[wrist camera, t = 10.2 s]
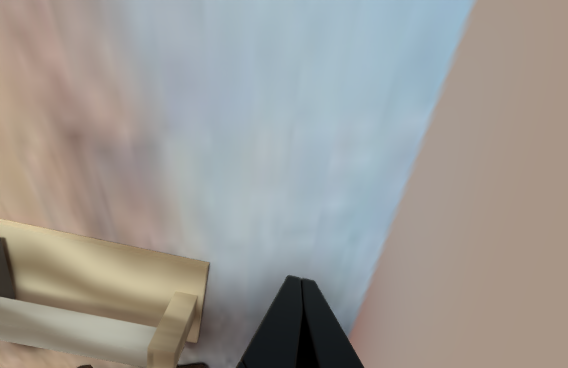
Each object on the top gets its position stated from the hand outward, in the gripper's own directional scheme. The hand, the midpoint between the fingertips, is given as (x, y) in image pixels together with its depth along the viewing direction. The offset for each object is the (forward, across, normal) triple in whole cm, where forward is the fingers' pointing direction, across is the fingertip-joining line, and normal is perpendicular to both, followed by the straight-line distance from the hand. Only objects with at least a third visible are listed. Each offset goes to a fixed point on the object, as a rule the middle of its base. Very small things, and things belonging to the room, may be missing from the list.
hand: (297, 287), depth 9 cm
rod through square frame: (+13, +18, +17) cm, 28 cm away
